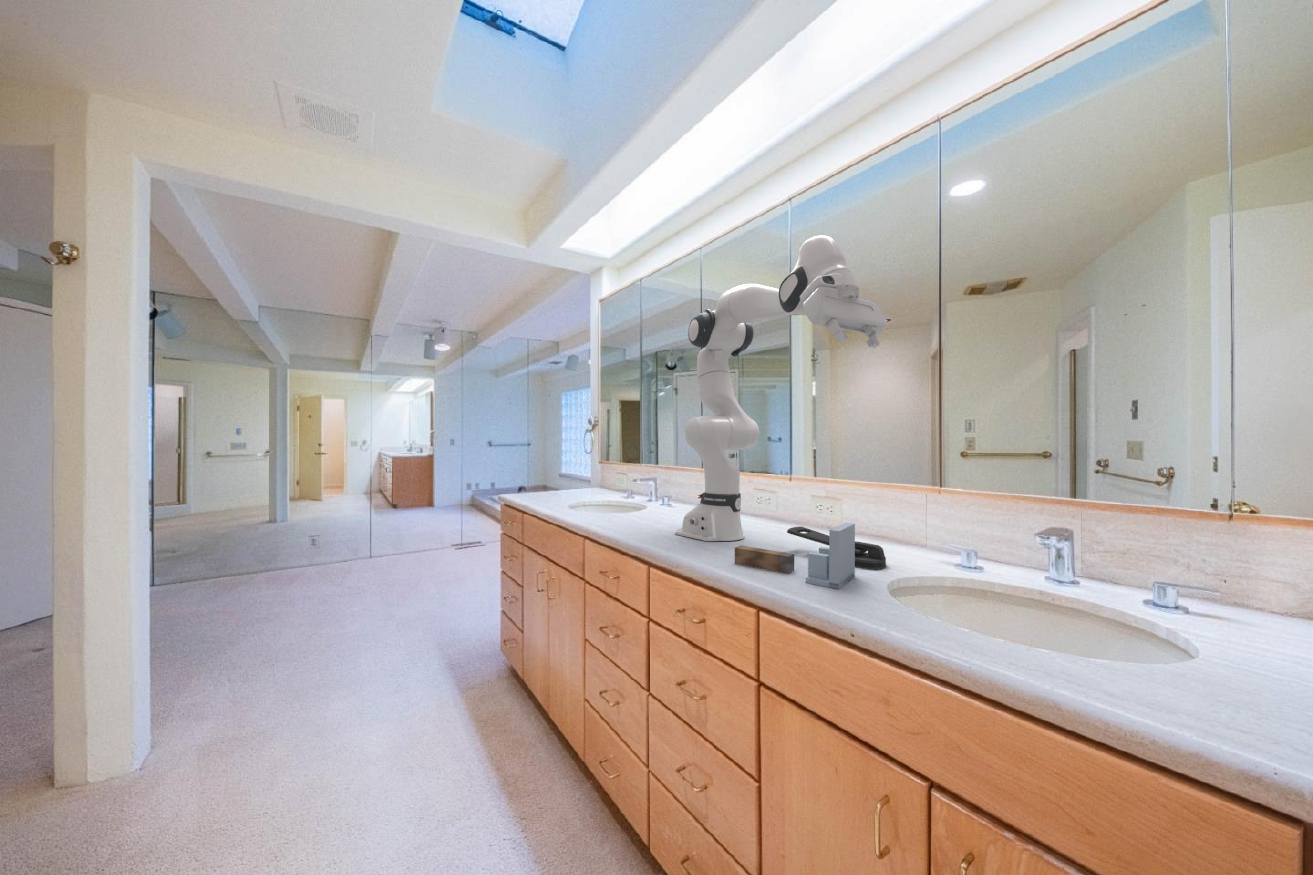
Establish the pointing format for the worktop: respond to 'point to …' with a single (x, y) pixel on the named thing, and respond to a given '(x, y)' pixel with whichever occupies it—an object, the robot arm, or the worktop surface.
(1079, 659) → the worktop surface
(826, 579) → the post block
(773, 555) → the brown long rectangular block
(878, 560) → the black stapler
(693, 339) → the robot arm
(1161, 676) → the worktop surface
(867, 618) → the worktop surface
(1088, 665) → the worktop surface
